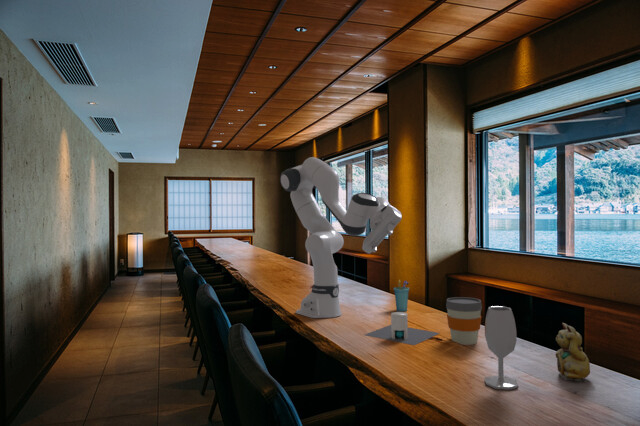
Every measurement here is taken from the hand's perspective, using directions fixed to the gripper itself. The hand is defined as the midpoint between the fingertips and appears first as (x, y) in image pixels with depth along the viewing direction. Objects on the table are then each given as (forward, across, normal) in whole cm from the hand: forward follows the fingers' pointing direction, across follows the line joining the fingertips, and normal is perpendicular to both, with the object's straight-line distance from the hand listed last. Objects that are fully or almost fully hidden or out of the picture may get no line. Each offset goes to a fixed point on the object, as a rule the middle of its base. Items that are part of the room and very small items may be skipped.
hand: (381, 242), depth 168 cm
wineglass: (+52, +9, +33) cm, 62 cm away
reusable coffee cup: (+16, -8, +44) cm, 47 cm away
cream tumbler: (+14, -22, +26) cm, 37 cm away
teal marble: (+13, -22, +25) cm, 35 cm away
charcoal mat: (+10, -24, +28) cm, 38 cm away
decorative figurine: (+46, +20, +52) cm, 72 cm away
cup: (-28, -39, +43) cm, 64 cm away
